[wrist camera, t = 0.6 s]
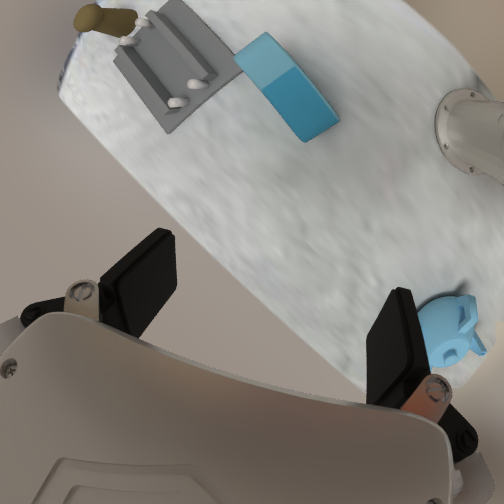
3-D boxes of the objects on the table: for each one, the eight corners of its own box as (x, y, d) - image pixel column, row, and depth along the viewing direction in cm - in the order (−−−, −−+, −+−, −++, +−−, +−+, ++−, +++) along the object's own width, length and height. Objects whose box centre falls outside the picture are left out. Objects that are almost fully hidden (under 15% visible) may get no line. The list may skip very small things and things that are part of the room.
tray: (177, -4, 26) (160, -11, 22) (246, 69, 32) (234, 64, 27) (116, 61, 34) (97, 61, 30) (170, 133, 40) (152, 138, 35)
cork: (137, 4, 28) (92, -7, 19) (139, 29, 31) (93, 22, 22) (112, 18, 30) (68, 12, 21) (114, 42, 32) (68, 40, 23)
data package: (259, 68, 31) (227, 54, 21) (284, 50, 29) (262, 27, 19) (312, 134, 34) (303, 145, 24) (339, 117, 32) (341, 121, 22)
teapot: (476, 325, 40) (490, 364, 31) (417, 354, 48) (422, 394, 39) (465, 275, 36) (485, 315, 28) (395, 310, 44) (402, 355, 35)
